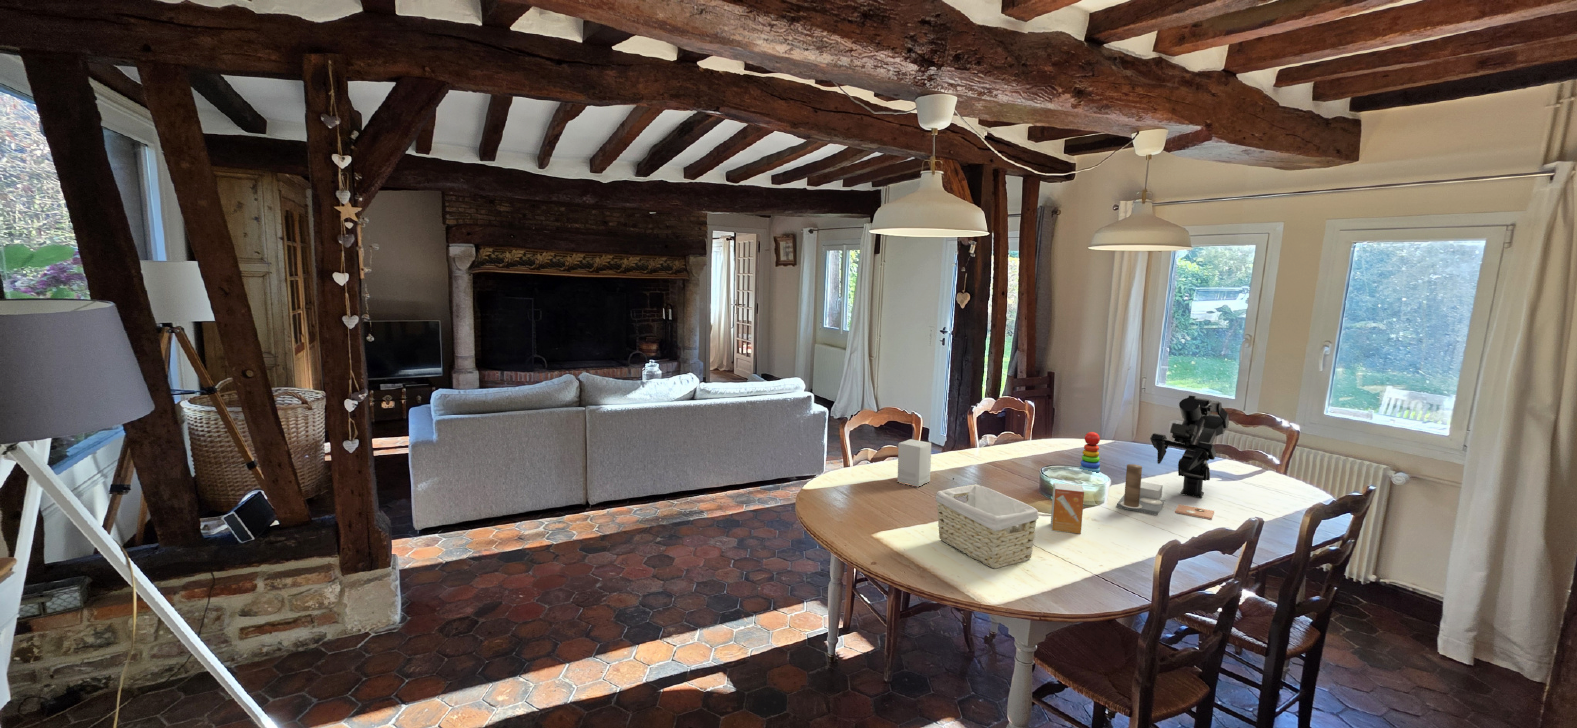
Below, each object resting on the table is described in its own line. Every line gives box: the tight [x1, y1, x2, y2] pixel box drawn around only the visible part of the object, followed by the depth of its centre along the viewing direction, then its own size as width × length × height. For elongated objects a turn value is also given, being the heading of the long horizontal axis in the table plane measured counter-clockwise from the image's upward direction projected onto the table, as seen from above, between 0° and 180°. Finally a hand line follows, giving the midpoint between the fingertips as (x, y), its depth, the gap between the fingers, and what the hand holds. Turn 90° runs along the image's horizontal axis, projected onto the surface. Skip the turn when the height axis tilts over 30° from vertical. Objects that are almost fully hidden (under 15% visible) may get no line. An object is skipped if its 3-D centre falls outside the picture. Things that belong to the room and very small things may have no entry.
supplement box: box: [897, 438, 932, 487], centre depth 241 cm, size 9×9×15 cm
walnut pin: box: [1123, 463, 1143, 507], centre depth 216 cm, size 4×4×13 cm
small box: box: [1050, 482, 1085, 535], centre depth 198 cm, size 8×6×13 cm
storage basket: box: [935, 483, 1040, 569], centre depth 182 cm, size 24×16×15 cm
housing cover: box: [1140, 481, 1163, 500], centre depth 228 cm, size 8×8×4 cm
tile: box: [1174, 503, 1215, 520], centre depth 214 cm, size 8×10×1 cm
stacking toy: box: [1079, 431, 1101, 473], centre depth 244 cm, size 8×8×19 cm
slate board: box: [1116, 493, 1165, 516], centre depth 219 cm, size 15×12×1 cm
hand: (1173, 466), depth 218 cm, fingers open, 9 cm apart
